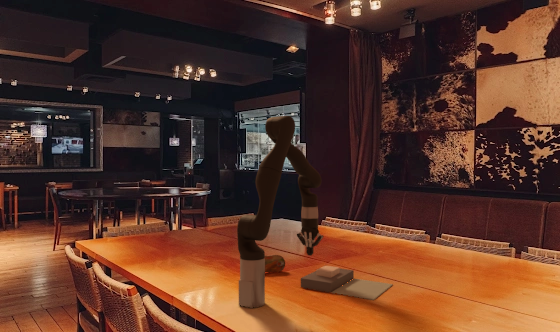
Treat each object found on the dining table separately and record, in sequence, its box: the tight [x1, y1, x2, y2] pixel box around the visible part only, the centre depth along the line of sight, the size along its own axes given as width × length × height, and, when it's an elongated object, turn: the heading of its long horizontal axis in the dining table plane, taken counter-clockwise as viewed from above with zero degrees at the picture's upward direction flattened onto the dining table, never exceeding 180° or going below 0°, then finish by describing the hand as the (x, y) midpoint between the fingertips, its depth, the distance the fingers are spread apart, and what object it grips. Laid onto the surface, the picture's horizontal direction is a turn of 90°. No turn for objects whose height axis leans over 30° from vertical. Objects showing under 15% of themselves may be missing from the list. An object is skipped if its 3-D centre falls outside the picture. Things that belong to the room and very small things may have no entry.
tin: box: [265, 254, 286, 273], centre depth 206 cm, size 15×3×8 cm, turn 105°
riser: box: [300, 268, 355, 294], centre depth 188 cm, size 24×14×4 cm, turn 148°
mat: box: [331, 278, 394, 301], centre depth 179 cm, size 24×18×1 cm
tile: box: [315, 265, 340, 277], centre depth 188 cm, size 9×7×2 cm
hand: (310, 255), depth 192 cm, fingers closed
